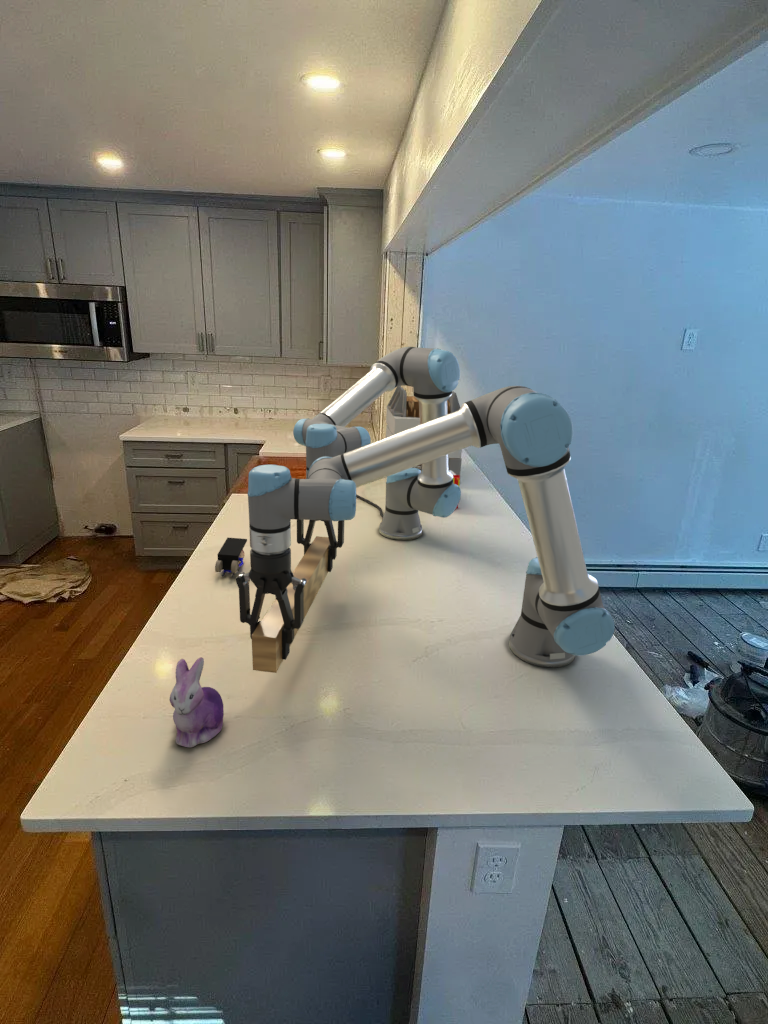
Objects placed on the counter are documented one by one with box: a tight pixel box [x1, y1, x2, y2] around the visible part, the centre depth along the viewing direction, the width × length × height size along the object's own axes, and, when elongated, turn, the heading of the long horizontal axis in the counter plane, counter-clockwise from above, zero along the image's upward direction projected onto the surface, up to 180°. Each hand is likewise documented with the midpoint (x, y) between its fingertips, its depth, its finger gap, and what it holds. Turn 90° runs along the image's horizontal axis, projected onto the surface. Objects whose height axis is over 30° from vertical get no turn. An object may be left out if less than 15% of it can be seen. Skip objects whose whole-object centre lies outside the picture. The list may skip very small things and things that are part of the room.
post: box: [251, 535, 330, 674], centre depth 132 cm, size 51×5×8 cm, turn 173°
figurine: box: [169, 657, 225, 748], centre depth 102 cm, size 9×10×15 cm
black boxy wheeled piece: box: [214, 537, 248, 578], centre depth 166 cm, size 7×8×15 cm
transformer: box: [385, 386, 463, 476], centre depth 268 cm, size 34×33×41 cm
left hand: (320, 568), depth 152 cm, fingers closed on post, 5 cm apart
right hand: (272, 653), depth 114 cm, fingers closed on post, 5 cm apart
